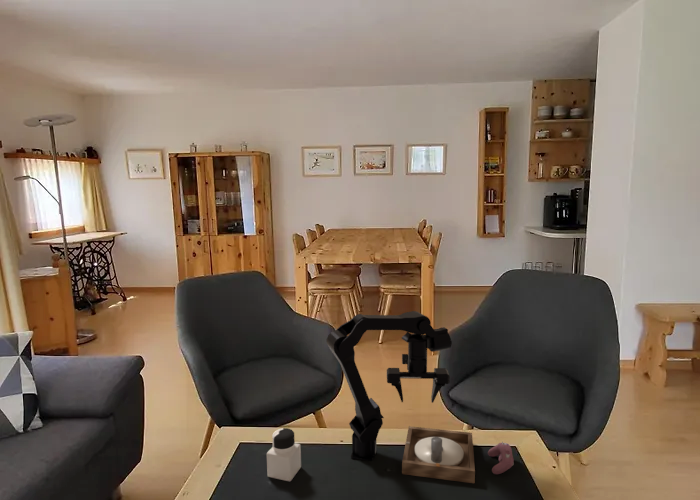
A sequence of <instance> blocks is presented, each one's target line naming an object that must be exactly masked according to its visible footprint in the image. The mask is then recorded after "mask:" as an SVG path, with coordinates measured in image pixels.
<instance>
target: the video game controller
mask: <svg viewBox="0 0 700 500" xmlns="http://www.w3.org/2000/svg"><path fill="white" fill-rule="evenodd" d="M487 455H488V456H489V457H498V463H497V464H495V465H493V467H492V468H491V472H492V473H493V475H500V474H502V473H503V474H504V473H505V472H507V471H508V470H509V469H511V468H512V467H513V466H514V464H515V463H514V456H513V449H512V447H511V445H510V444H509V443H507V442H503V441H502V442H499V443H497V444H496V445H495V446H493V447H491V448H490V449H489V450H488V451H487Z"/></svg>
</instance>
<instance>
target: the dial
mask: <svg viewBox="0 0 700 500" xmlns="http://www.w3.org/2000/svg"><path fill="white" fill-rule="evenodd" d="M463 455H464V452H463V449H462V447H461V446H460V445H459V444H458V443H456V442H454V441H452V440H450V439H447V438H443V437H428V438H424V439H422V440H420V441H418V442H417V443H416V445H415V456H416V457H417V459H418V460H419V461H420V462H425V463H433V464H436V463H438V464H441V465H449V466H457V465H459V464H460V463H461V462H462V461H463Z"/></svg>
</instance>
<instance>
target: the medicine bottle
mask: <svg viewBox="0 0 700 500" xmlns="http://www.w3.org/2000/svg"><path fill="white" fill-rule="evenodd" d="M271 437H272V447H271V448H270V449H269V450H268V451H267V452H266V470H267V477H268V478H272V479H277V480H282V481H285V482H291V481H292V480H293V478H294V477H295V476H296V474H297V473H298V472H299V470H300V469H301V468H302V451H301V450H302V449H301V448H302V447H301V446H302V445H301V444H300V443H296V442H295V441H296V440H295V432H294V431H293V430H292V429H291V428H289V427H288V428H287V427H286V428H285V427H283V428H282V427H281V428H279V429H276V430H275V431H274V432H273V433H272V436H271Z"/></svg>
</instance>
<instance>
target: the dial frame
mask: <svg viewBox="0 0 700 500" xmlns="http://www.w3.org/2000/svg"><path fill="white" fill-rule="evenodd" d="M428 437H443V438H447V439H450V440H452V441H454V442H456V443H458V444H459V445H460V446H461V447H462V449H463V452H464V455H463V461H462V462H461V463H460V464H459V465H457V466H449V465H441V464H438V463H436V464H433V463H425V462H420V461H419V460H418V459H417V457H416V456H415V445H416V443H417V442H418V441H420V440H422V439H424V438H428ZM473 440H474V439H473V432H467V431H460V430H449V429H448V430H447V429H439V428H430V427H421V426H410V425H409V426H408V429H407V435H406V438H405V444H404V445H405V446H404V451H403V455H402V461H401V462H402V463H401V475H409V476H416V477H423V478H431V479H437V480H438V479H439V480H445V481H453V482H454V481H455V482H461V483H468V484H475V481H476V480H475V478H476V477H475V475H476V470H475V469H476V468H475V454H474V442H473Z"/></svg>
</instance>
